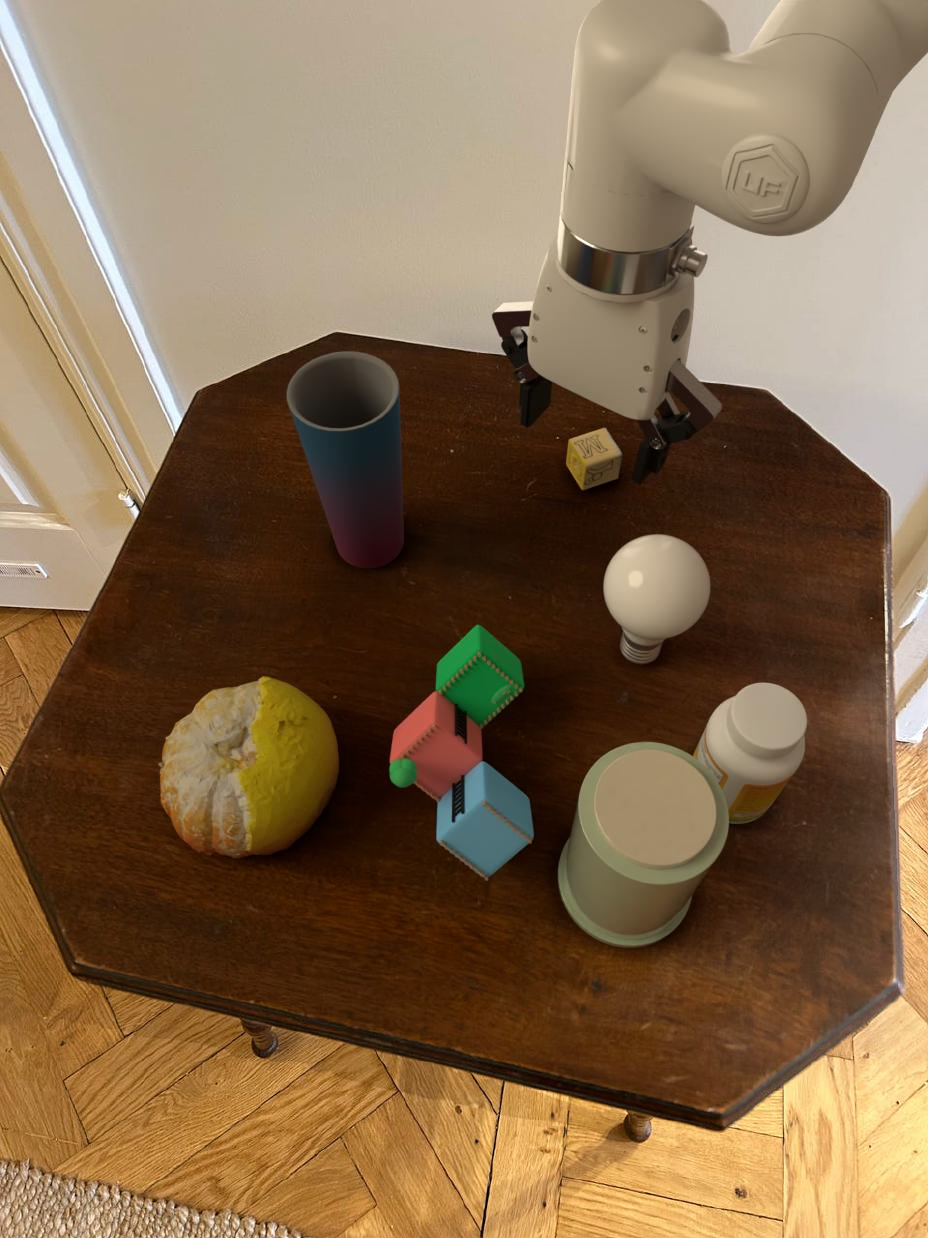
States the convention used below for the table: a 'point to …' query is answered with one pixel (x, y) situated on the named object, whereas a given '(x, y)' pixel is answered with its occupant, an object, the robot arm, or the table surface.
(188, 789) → the fruit
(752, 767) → the supplement bottle
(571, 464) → the alphabet block
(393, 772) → the building blocks
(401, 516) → the cup
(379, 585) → the table surface
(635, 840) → the upturned tumbler
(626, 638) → the lightbulb
